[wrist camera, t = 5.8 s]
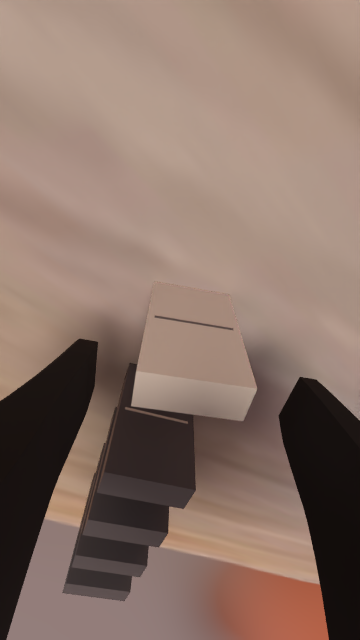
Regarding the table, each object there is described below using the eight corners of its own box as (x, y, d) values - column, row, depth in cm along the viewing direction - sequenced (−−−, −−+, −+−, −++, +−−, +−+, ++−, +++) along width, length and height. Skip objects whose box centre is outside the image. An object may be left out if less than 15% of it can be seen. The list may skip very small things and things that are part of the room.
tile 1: (191, 378, 19) (196, 489, 13) (183, 396, 20) (183, 509, 14) (129, 362, 18) (104, 471, 12) (123, 381, 19) (96, 492, 13)
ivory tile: (229, 294, 16) (257, 388, 10) (221, 320, 17) (243, 421, 11) (154, 280, 16) (136, 370, 10) (150, 308, 16) (130, 406, 10)
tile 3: (156, 454, 23) (147, 565, 17) (150, 466, 24) (139, 577, 18) (104, 442, 22) (75, 555, 16) (100, 456, 23) (71, 567, 17)
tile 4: (142, 482, 25) (130, 592, 19) (137, 493, 26) (124, 601, 20) (94, 473, 24) (65, 583, 18) (91, 484, 25) (62, 592, 19)
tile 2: (172, 419, 21) (168, 533, 15) (165, 434, 22) (158, 547, 16) (115, 406, 20) (87, 519, 14) (111, 422, 21) (82, 535, 15)
